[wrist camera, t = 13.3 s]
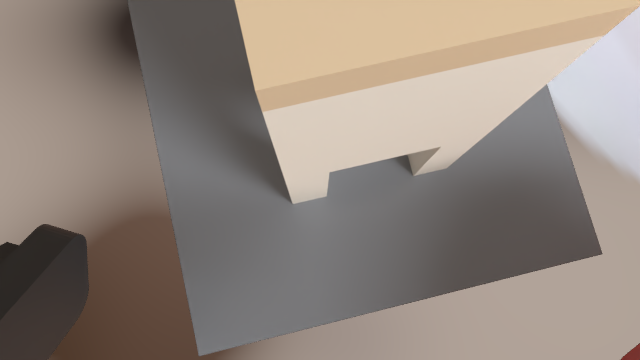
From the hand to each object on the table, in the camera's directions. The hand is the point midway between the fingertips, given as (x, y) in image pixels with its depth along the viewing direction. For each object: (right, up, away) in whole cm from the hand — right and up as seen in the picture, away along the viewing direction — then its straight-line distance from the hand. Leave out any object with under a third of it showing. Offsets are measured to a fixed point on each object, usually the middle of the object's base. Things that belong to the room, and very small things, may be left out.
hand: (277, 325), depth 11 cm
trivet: (+2, +5, +10) cm, 12 cm away
